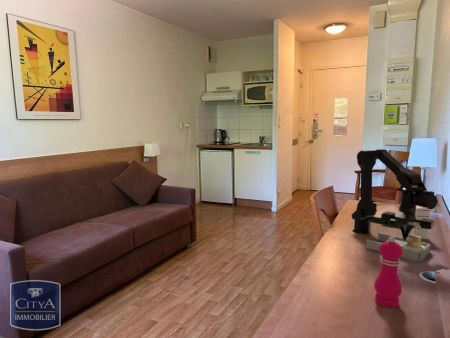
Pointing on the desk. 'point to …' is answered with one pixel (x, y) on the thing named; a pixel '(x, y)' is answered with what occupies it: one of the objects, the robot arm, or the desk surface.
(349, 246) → the desk surface
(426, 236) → the syrup box
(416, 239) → the wooden cube
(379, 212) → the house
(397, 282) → the pepper mill
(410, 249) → the tray
